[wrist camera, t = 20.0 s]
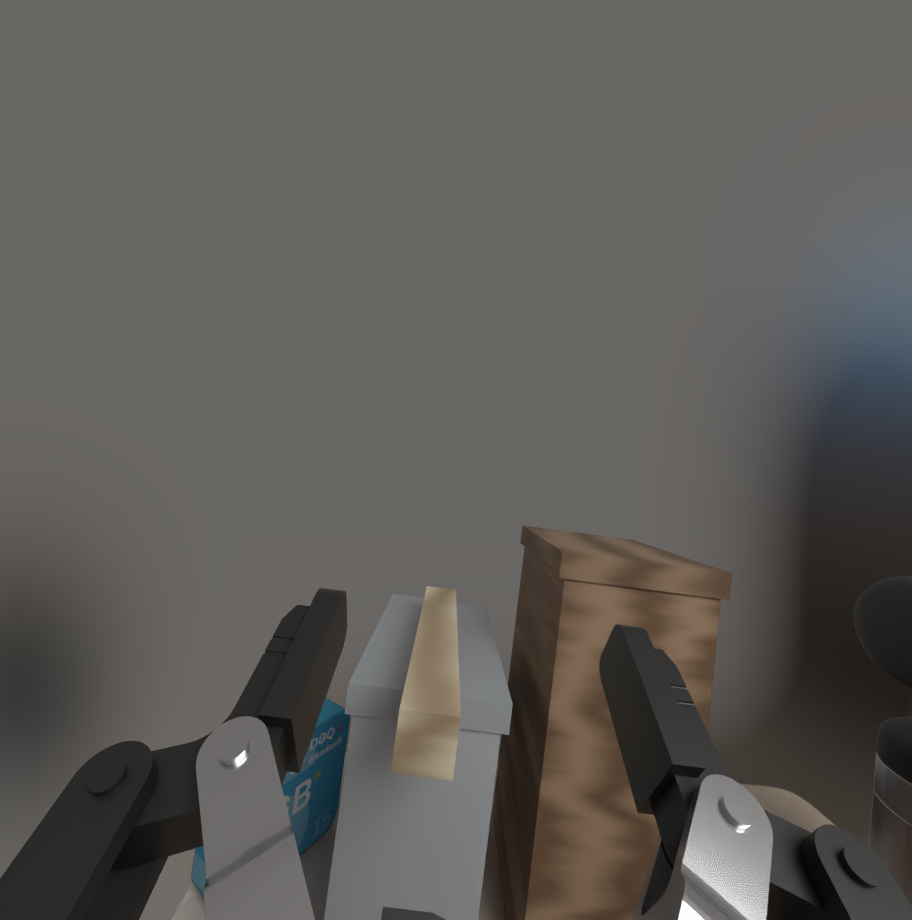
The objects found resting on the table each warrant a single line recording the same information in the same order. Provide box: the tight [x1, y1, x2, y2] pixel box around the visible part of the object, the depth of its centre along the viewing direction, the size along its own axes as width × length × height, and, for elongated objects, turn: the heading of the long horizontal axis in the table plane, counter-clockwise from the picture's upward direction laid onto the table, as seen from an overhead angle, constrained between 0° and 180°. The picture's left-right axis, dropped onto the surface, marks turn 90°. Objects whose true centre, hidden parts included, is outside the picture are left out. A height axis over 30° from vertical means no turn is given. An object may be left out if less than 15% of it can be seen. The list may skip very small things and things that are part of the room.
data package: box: [191, 698, 350, 895], centre depth 37 cm, size 12×4×12 cm, turn 150°
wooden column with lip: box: [493, 526, 732, 920], centre depth 38 cm, size 13×16×32 cm
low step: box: [324, 594, 513, 920], centre depth 36 cm, size 11×20×22 cm, turn 1°
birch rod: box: [391, 586, 461, 781], centre depth 30 cm, size 3×22×3 cm, turn 0°
